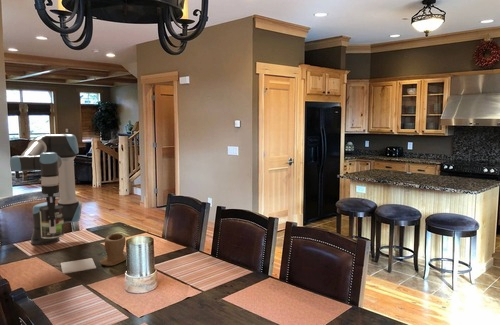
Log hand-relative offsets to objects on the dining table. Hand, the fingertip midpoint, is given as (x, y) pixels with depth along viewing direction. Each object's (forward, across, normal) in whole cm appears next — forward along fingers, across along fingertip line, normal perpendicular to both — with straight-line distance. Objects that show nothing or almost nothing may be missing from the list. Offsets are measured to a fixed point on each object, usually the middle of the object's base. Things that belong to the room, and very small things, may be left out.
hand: (52, 230), depth 191 cm
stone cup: (+20, +4, +29) cm, 35 cm away
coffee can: (+3, 0, 0) cm, 3 cm away
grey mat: (+20, 0, +10) cm, 22 cm away
